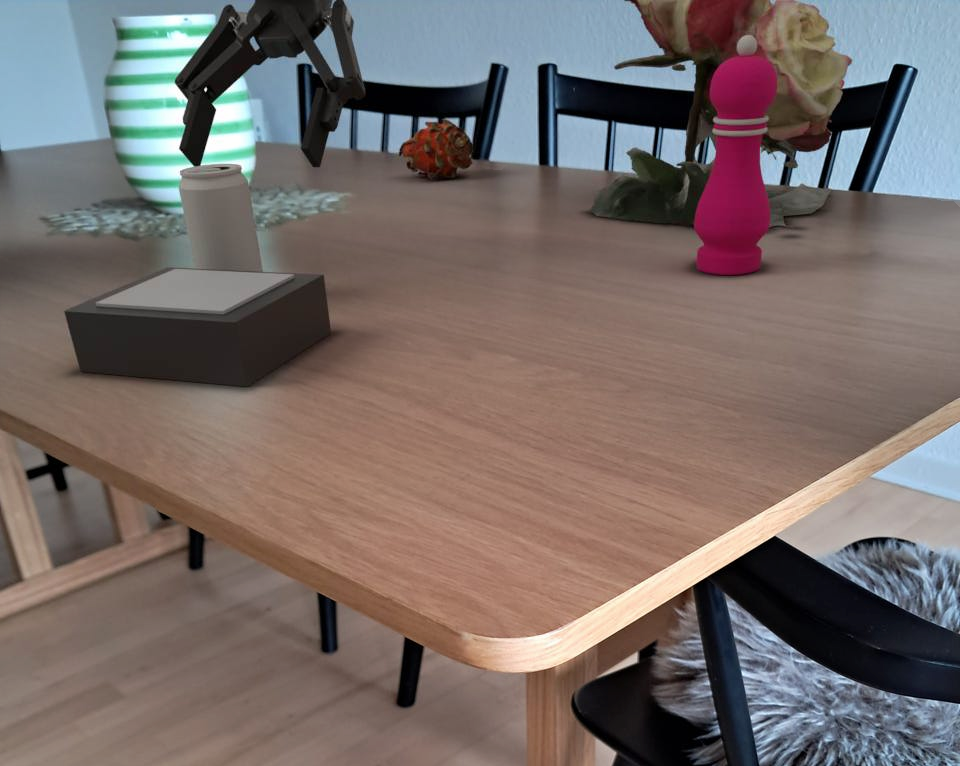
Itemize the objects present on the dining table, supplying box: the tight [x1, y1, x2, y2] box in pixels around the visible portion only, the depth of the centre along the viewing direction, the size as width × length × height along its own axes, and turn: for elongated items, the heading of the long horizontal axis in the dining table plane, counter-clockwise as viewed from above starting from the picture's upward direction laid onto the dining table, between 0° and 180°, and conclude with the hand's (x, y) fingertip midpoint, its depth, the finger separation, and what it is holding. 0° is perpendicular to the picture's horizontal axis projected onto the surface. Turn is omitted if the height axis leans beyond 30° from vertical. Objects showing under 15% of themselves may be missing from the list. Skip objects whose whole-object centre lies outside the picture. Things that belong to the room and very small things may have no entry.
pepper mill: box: [693, 35, 777, 276], centre depth 95 cm, size 7×7×20 cm
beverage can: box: [178, 163, 264, 272], centre depth 96 cm, size 6×6×12 cm
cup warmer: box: [63, 266, 332, 388], centre depth 85 cm, size 17×14×5 cm
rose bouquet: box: [573, 0, 853, 235], centre depth 117 cm, size 26×29×30 cm
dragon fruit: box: [396, 118, 474, 181], centre depth 151 cm, size 8×8×12 cm
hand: (248, 158), depth 98 cm, fingers open, 13 cm apart
